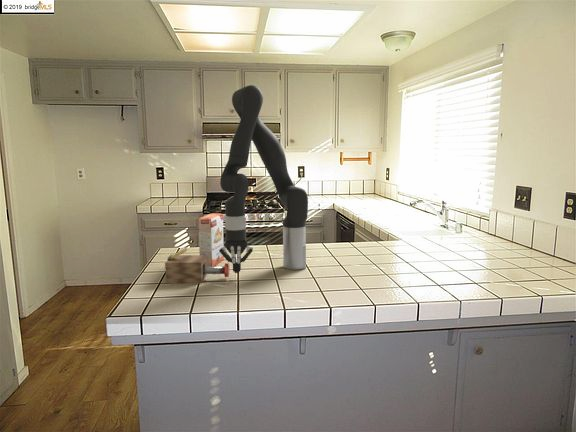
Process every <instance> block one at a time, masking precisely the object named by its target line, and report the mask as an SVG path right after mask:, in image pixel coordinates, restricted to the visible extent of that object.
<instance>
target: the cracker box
mask: <svg viewBox="0 0 576 432" xmlns="http://www.w3.org/2000/svg"><path fill="white" fill-rule="evenodd" d="M198 241H199V242H198V243H199V245H198V247H199V249H198V251H199V255H206V266H207V267H216V266H217V265H218V264H220V263H221V262H222V261H223V260H224V259H225V258H224V256H223V255H222V254H221V253H220V252H219V250H220V248H222V247H224V246H225V244H224V214H223V213H214V212H213V213H209V214H207V215H204V216H202V217H201V216H200V217H199V218H198Z"/></svg>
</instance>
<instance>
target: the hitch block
mask: <svg viewBox="0 0 576 432" xmlns="http://www.w3.org/2000/svg"><path fill="white" fill-rule="evenodd" d="M164 267H165V271H164V272H165V282H166V283H165V284H166V285H170V284H171V285H172V284H173V285H180V284H181V285H182V284H183V285H185V284H191V285H193V284H195V285H196V284H198V285H199V284H201V285H202V284H203V282H204V281H205V279H206V277H207V275H208V274H203V267H207V266H206V255H200V254H193V255H187V254H186V255H183V254H181V255H179V256H177V257H175V258H173V259H172V260H168V259H167V260H166V261H165V262H164Z"/></svg>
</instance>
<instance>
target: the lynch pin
mask: <svg viewBox="0 0 576 432" xmlns="http://www.w3.org/2000/svg"><path fill="white" fill-rule="evenodd" d="M229 263H230V262H227V263H226V262H225V263H224V266H214V267H203V274H207V275H224V278H229V277H230V264H229Z"/></svg>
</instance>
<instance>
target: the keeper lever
mask: <svg viewBox="0 0 576 432" xmlns="http://www.w3.org/2000/svg"><path fill="white" fill-rule="evenodd" d="M187 251H188V249H187V247H185V248H183V249H181V250H179V251H177V252H176V253H173V254H170V255H169V256H168V257H167V260H172V259H173V258H175V257H177V256H179V255H183V254H184V253H186V252H187Z"/></svg>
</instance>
